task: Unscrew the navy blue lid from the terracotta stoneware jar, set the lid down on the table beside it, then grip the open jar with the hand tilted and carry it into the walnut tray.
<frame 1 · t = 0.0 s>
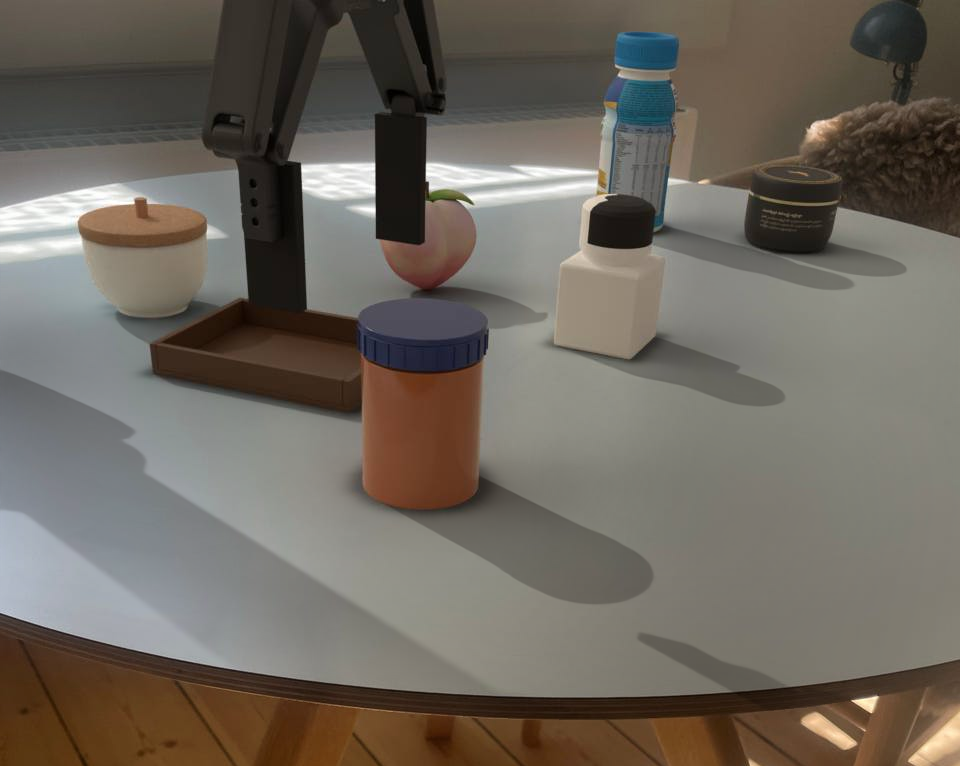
hand: (344, 271, 60), 16 cm above the table, tool pointing down, fingers open, 13 cm apart
lid: (423, 324, 70), point 11 cm above the table, screwed on, not yet turned
decorative fruit: (423, 291, 112), on the table
beverage bottle: (627, 228, 135), on the table
medicine bottle: (604, 343, 101), on the table
trinket box: (153, 309, 104), on the table
jar: (784, 246, 132), on the table
tray: (291, 366, 93), on the table
honey jar: (420, 484, 76), on the table
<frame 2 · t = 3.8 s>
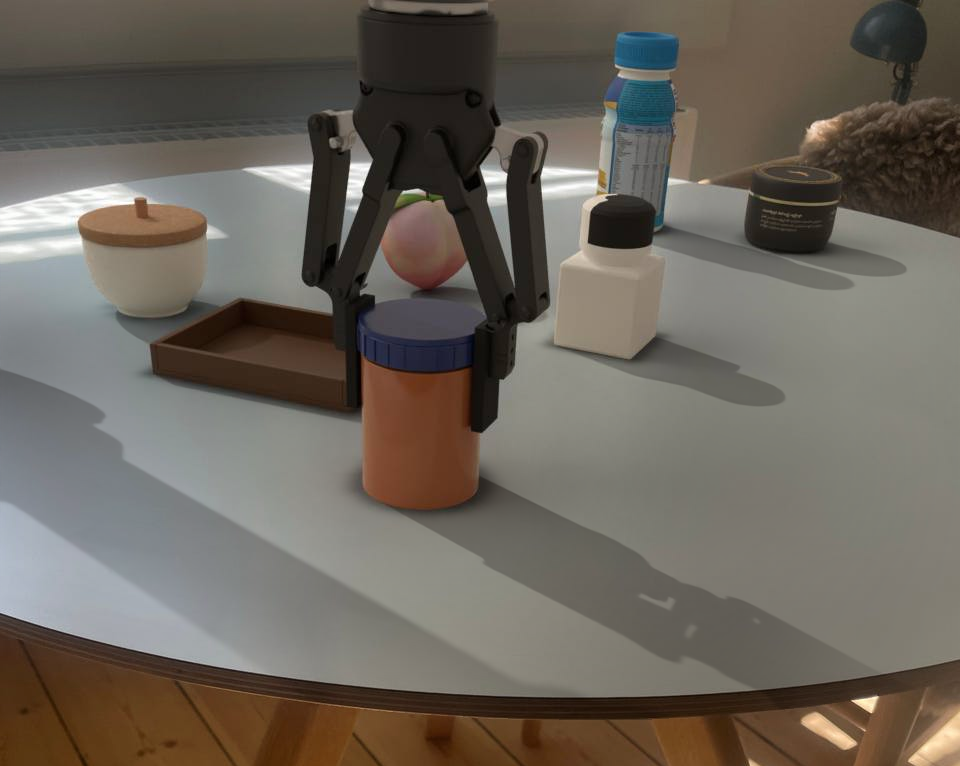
hand: (421, 411, 73), 5 cm above the table, tool pointing down, fingers closed on lid, 8 cm apart
lid: (423, 324, 70), point 11 cm above the table, screwed on, not yet turned, touching gripper
everything else where it was.
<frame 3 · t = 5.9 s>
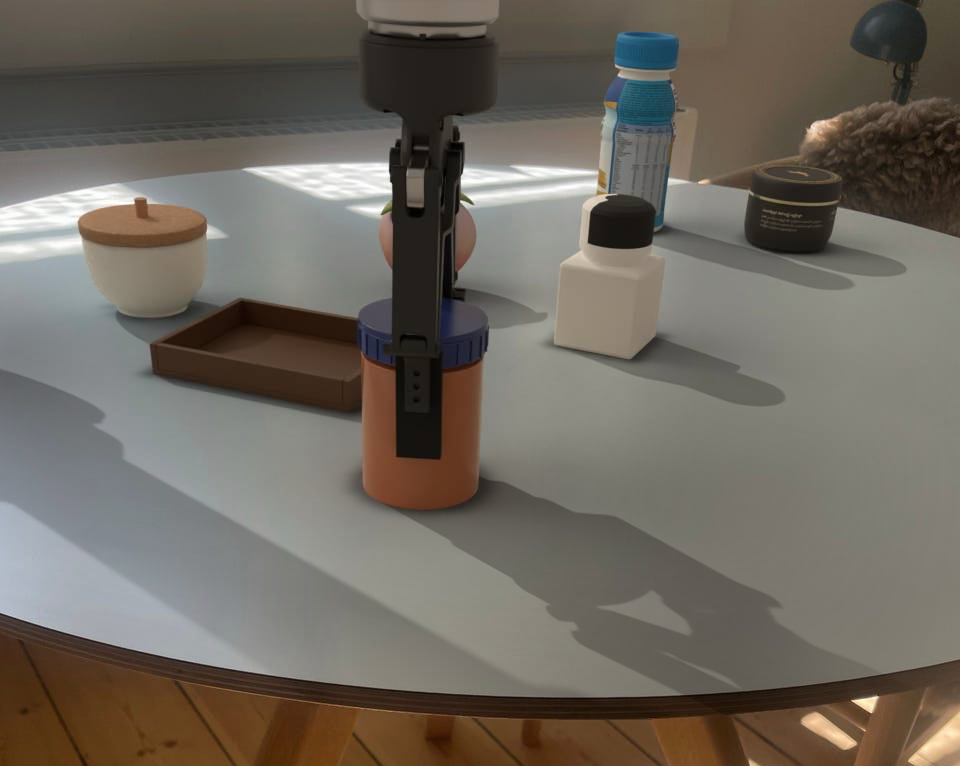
hand: (425, 428, 74), 4 cm above the table, tool pointing down, fingers closed on lid, 8 cm apart
lid: (423, 322, 70), point 11 cm above the table, turned 108° so far, risen 0.1 cm, still on its thread, touching gripper
honey jar: (420, 484, 76), on the table, touching gripper
everything else where it was.
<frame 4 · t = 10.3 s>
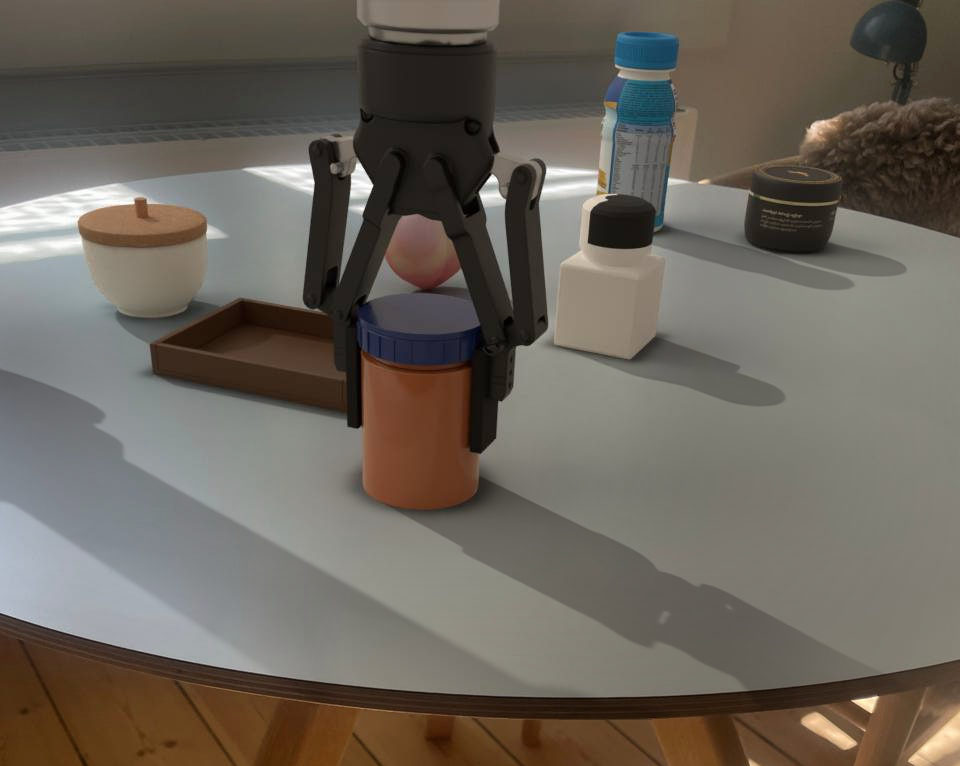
hand: (421, 432, 74), 4 cm above the table, tool pointing down, fingers closed on lid, 8 cm apart
lid: (423, 319, 70), point 11 cm above the table, turned 216° so far, risen 0.3 cm, still on its thread, touching gripper
honey jar: (420, 484, 76), on the table
everything else where it was.
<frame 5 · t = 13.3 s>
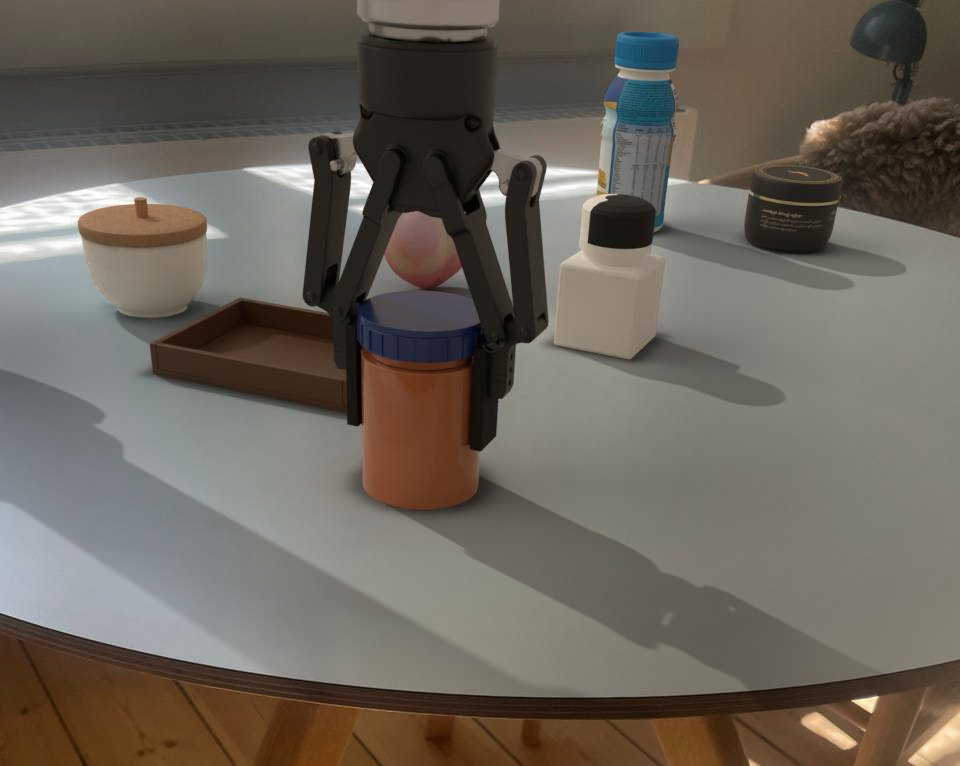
hand: (421, 429, 74), 4 cm above the table, tool pointing down, fingers closed on lid, 8 cm apart
lid: (423, 316, 70), point 11 cm above the table, turned 324° so far, risen 0.5 cm, still on its thread, touching gripper
everything else where it was.
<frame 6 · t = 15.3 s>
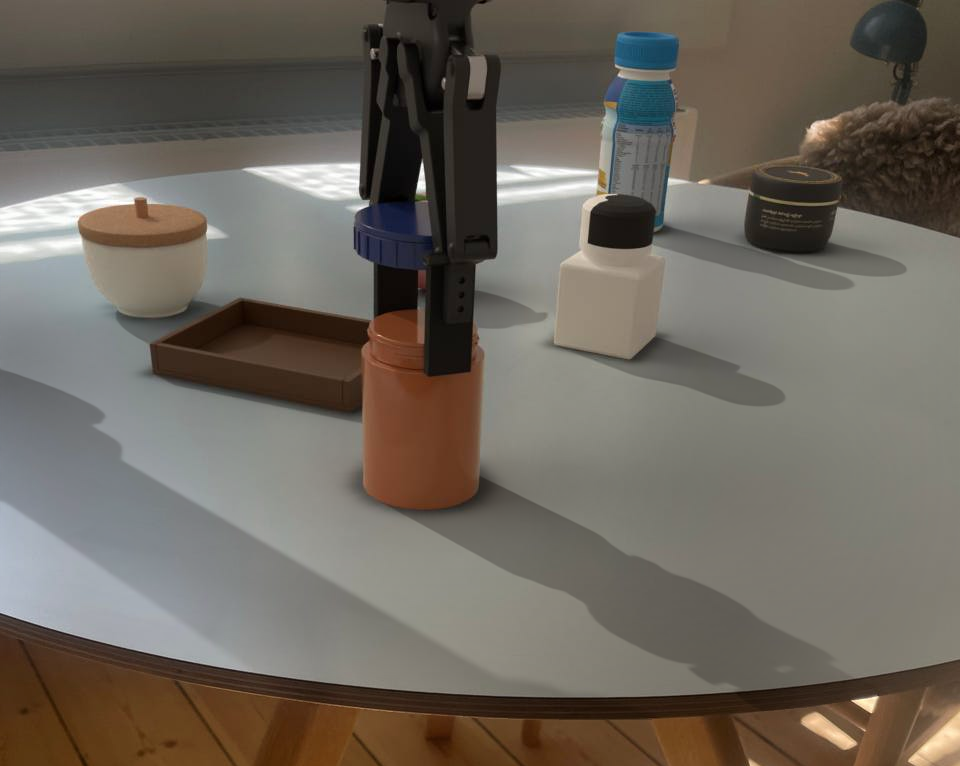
hand: (420, 347, 71), 9 cm above the table, tool pointing down, fingers closed on lid, 8 cm apart
lid: (422, 224, 67), point 17 cm above the table, off its thread, touching gripper
honey jar: (421, 484, 76), on the table, touching gripper
everything else where it was.
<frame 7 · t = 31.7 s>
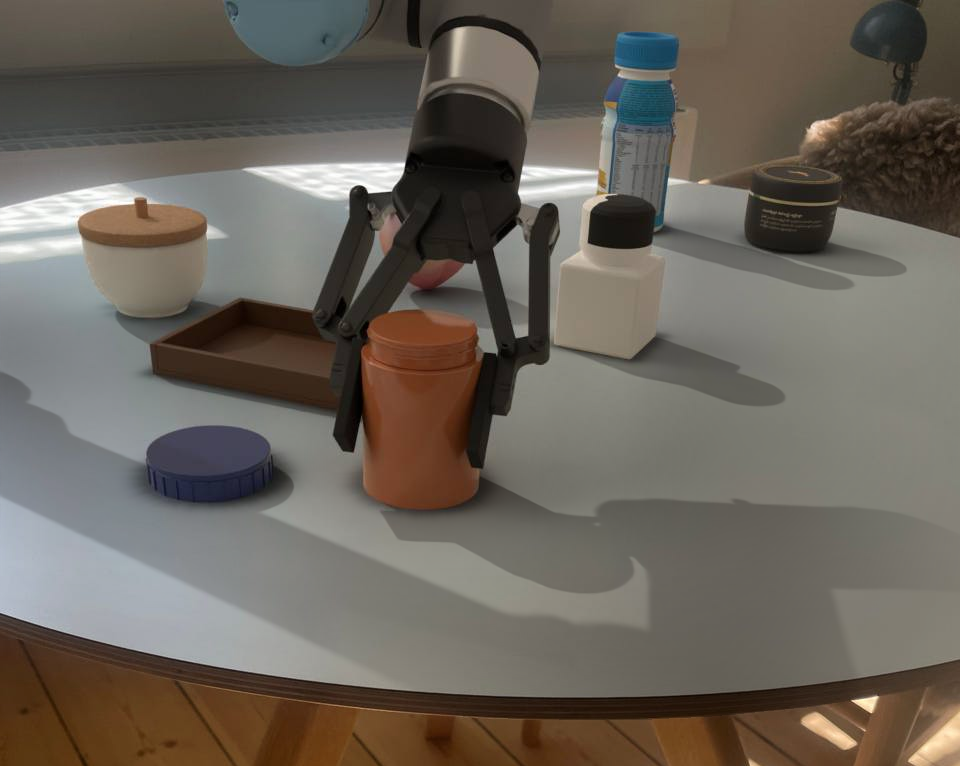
hand: (408, 451, 71), 4 cm above the table, tool tilted 45°, fingers closed on honey jar, 8 cm apart
lid: (209, 455, 75), point 1 cm above the table, off its thread
honey jar: (421, 484, 76), on the table, touching gripper
everything else where it was.
when the fingers open (4 cm above the table, at t = 41.1 s): honey jar stays where it is, resting on tray.
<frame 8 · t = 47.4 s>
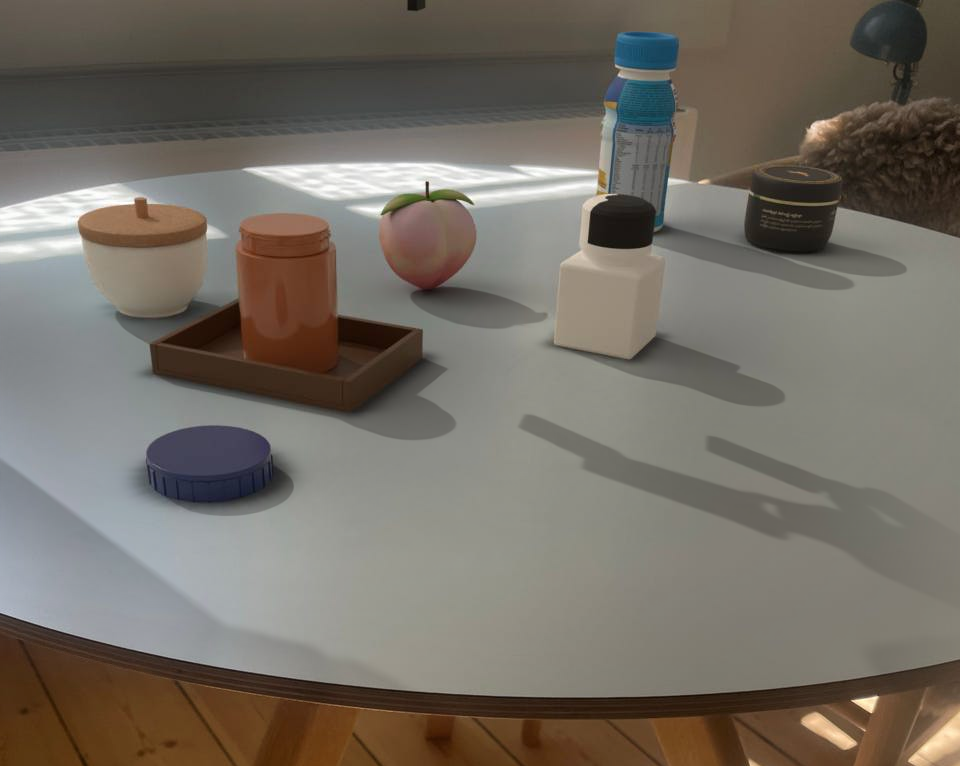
hand: (331, 4, 90), 25 cm above the table, tool pointing down, fingers open, 13 cm apart
honey jar: (291, 360, 93), resting on tray
everything else where it was.
at the end: lid came off its thread; lid point 1.5 cm above the table; honey jar inside the target area in the tray (0.1 cm from its centre), point 0.5 cm above the tray's base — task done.
